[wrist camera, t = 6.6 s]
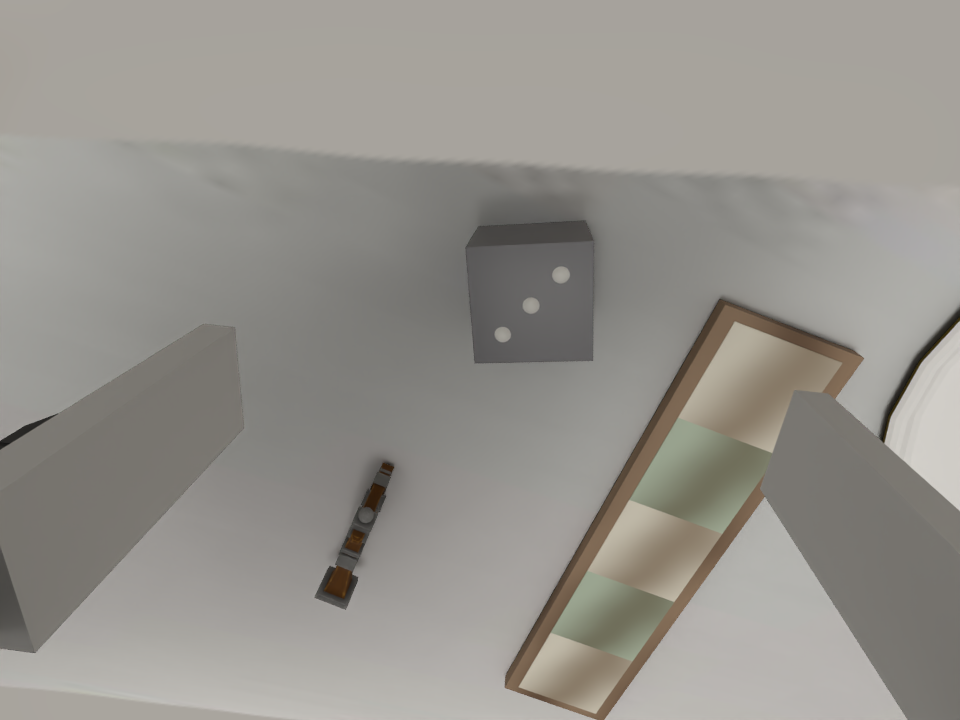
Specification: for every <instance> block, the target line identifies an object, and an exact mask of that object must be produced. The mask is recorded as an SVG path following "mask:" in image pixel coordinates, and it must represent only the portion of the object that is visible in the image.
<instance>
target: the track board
mask: <svg viewBox="0 0 960 720" xmlns="http://www.w3.org/2000/svg"><path fill="white" fill-rule="evenodd" d="M863 359H864V358H863V357H862V356H860V355H859V354H858V353H856V352H855V351H853V350H850V349H848V348H845V347H843V346H840V345H837V344H835V343H832V342H830V341H827V340H824V339H822V338H819V337H817V336H814V335H811V334H809V333H806V332H804V331H801V330H798V329H796V328H793V327H791V326H788V325H786V324H783V323H780V322H778V321H775V320H773V319H770V318H767V317H765V316H762V315H760V314H757V313H754V312H752V311H749V310H747V309H744V308H741V307H739V306H736V305H734V304H731V303H729V302H726V301H723V300H721V299H720V300H719V302H718V303H717V305H716V307H715V309H714V310H713V312H712V314H711V316H710V317H709V319H708V321H707V323H706V324H705V326H704V328H703V330H702V331H701V333H700V335H699V337H698V339H697V340H696V342H695V344H694V346H693V347H692V349H691V351H690V353H689V354H688V356H687V358H686V360H685V361H684V363H683V365H682V367H681V368H680V370H679V372H678V374H677V375H676V377H675V379H674V381H673V382H672V384H671V386H670V388H669V389H668V391H667V393H666V395H665V397H664V398H663V400H662V402H661V404H660V405H659V407H658V409H657V411H656V412H655V414H654V416H653V418H652V419H651V421H650V423H649V425H648V426H647V428H646V430H645V432H644V433H643V435H642V437H641V439H640V440H639V442H638V444H637V446H636V447H635V449H634V451H633V453H632V454H631V456H630V458H629V460H628V462H627V463H626V465H625V467H624V469H623V470H622V472H621V474H620V476H619V477H618V479H617V481H616V483H615V484H614V486H613V488H612V490H611V491H610V493H609V495H608V497H607V498H606V500H605V502H604V504H603V505H602V507H601V509H600V511H599V512H598V514H597V516H596V518H595V520H594V521H593V523H592V525H591V527H590V528H589V530H588V532H587V534H586V535H585V537H584V539H583V541H582V542H581V544H580V546H579V548H578V549H577V551H576V553H575V555H574V556H573V558H572V560H571V562H570V563H569V565H568V567H567V569H566V570H565V572H564V574H563V576H562V578H561V579H560V581H559V583H558V585H557V586H556V588H555V590H554V592H553V593H552V595H551V597H550V599H549V600H548V602H547V604H546V606H545V607H544V609H543V611H542V613H541V614H540V616H539V618H538V620H537V621H536V623H535V625H534V627H533V628H532V630H531V632H530V634H529V635H528V637H527V639H526V641H525V643H524V644H523V646H522V648H521V650H520V651H519V653H518V655H517V657H516V658H515V660H514V662H513V664H512V665H511V667H510V669H509V671H508V672H507V674H506V677H505V688H507V689H510V690H513V691H515V692H518V693H521V694H524V695H527V696H530V697H533V698H536V699H539V700H541V701H544V702H547V703H550V704H553V705H556V706H559V707H562V708H565V709H568V710H570V711H573V712H576V713H579V714H582V715H585V716H588V717H591V718H594V719H596V720H604V719H605V718H606V716H607V715H608V714H609V712H610V711H611V709H612V708H613V707H614V705H615V704H616V703H617V701H618V700H619V698H620V697H621V696H622V694H623V693H624V691H625V690H626V689H627V687H628V686H629V684H630V683H631V682H632V680H633V679H634V677H635V676H636V675H637V673H638V672H639V671H640V669H641V668H642V666H643V665H644V664H645V662H646V661H647V659H648V658H649V657H650V655H651V654H652V652H653V651H654V650H655V648H656V647H657V646H658V644H659V643H660V641H661V640H662V639H663V637H664V636H665V634H666V633H667V632H668V630H669V629H670V627H671V626H672V625H673V623H674V622H675V621H676V619H677V618H678V616H679V615H680V614H681V612H682V611H683V609H684V608H685V607H686V605H687V604H688V602H689V601H690V600H691V598H692V597H693V595H694V594H695V593H696V591H697V590H698V589H699V587H700V586H701V584H702V583H703V582H704V580H705V579H706V577H707V576H708V575H709V573H710V572H711V570H712V569H713V568H714V566H715V565H716V564H717V562H718V561H719V559H720V558H721V557H722V555H723V554H724V552H725V551H726V550H727V548H728V547H729V545H730V544H731V543H732V541H733V540H734V538H735V537H736V536H737V534H738V533H739V532H740V530H741V529H742V527H743V526H744V525H745V523H746V522H747V520H748V519H749V518H750V516H751V515H752V513H753V512H754V511H755V509H756V508H757V507H758V505H759V504H760V502H761V501H762V500H763V498H764V497H765V496H764V494H763V493H762V491H761V490H760V487H761V484H762V481H763V479H764V476H765V473H766V470H767V467H768V464H769V461H770V458H771V456H772V453H773V450H774V447H775V444H776V441H777V438H778V435H779V433H780V430H781V427H782V424H783V421H784V418H785V415H786V413H787V410H788V407H789V404H790V401H791V398H792V395H793V392H794V390H801V391H810V392H819V393H828V394H829V395H831V396H832V397H833V398H834V399H835V398H836V397H837V395H838V394H839V393H840V391H841V390H842V388H843V387H844V386H845V384H846V383H847V381H848V380H849V379H850V377H851V376H852V374H853V373H854V372H855V370H856V369H857V368H858V366H859V365H860V363H861V362H862V361H863Z"/></svg>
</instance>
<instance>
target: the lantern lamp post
mask: <svg viewBox="0 0 960 720" xmlns="http://www.w3.org/2000/svg"><path fill="white" fill-rule="evenodd" d="M393 469H394V467H393V466H390V465H388V464H385V463H383V464H382V466H381V468H380V470H379V472H377V475H376V477H375V479H374V481H373V484H372V486H371V489H368V490H367V492H366V494H365V497H364V499H363V501H362V503H361V505H362V507H360V506H359V508H358V511H357V513H356V515H355V517H354V520H353V522H352V525H351V527H350V530H349V532H348V534H347V537H346V539H345V541H344V543H343V545H342V548H341V550H340V553H339V557H338V559H337V561H336V564H335V565H337V566H336V568H334V567H331V566H329V568H328V570H327V572H326V574H325V576H324V578H323V580H322V582H321V584H320V587H319V589H318V591H317V593H316V595H315V597H314V598H317V599H319V600H322V601H324V602H327V603H330V604H332V605H335V606H337V607H340V608H342V609H345V610H346V608H347V606H348V603H349V601H350V598H351V596H352V594H353V591H354V589H355V586H356V584H357V581H358V577H357V576H354V575H352V572H353V569H354V567H355V565H356V562H357V561H358V559H359V557H360V554H361V552H362V550H363V547H364V545H365V543H366V541H367V538H368V536H369V533H370V532H371V530H372V528H373V525H374V523H375V520H376V518H377V515H378V512H380V510H381V507H382V505H383V503H384V500H385V498H386V496H385V495H384V492H385V490H386V488H387V485H388V483H389V480H390V478H391V477H390V476H391V474H392V471H393Z"/></svg>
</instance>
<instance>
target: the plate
mask: <svg viewBox="0 0 960 720" xmlns="http://www.w3.org/2000/svg"><path fill="white" fill-rule="evenodd" d="M883 443H884V444H885V445H886V446H888V447H889V448H890V449H891V450H892V451H893V452H894V453H895V454H897V455H898V456H899V457H900V458H901V459H902V460H903V461H904V462H906V463H907V464H908V465H909V466H910V467H911V468H912V469H913V470H914V471H916V472H917V473H918V474H919V475H920V476H921V477H922V478H923V479H925V480H926V481H927V482H928V483H929V484H930V485H931V486H932V487H933V488H935V489H936V490H937V491H938V492H939V493H940V494H941V495H942V496H944V497H945V498H946V499H947V500H948V501H949V502H950V503H951V504H953V505H954V506H955V507H956V508H957V509H958V510H959V511H960V317H959V318H958V319H957V320H956V322H955V323H954V324H953V325H952V326H951V327H950V328H949V329H948V330H947V331H946V332H945V334H944V335H943V336H942V337H941V338H940V339H939V340H938V341H937V342H936V343H935V344H934V346H933V347H932V348H931V349H930V350H929V351H928V352H927V353H926V354H925V355H924V356H923V358H922V359H921V360H920V361H919V362H918V364H917V366H916V368H915V370H914V371H913V373H912V375H911V377H910V379H909V380H908V382H907V384H906V386H905V387H904V389H903V391H902V393H901V395H900V396H899V398H898V400H897V402H896V403H895V405H894V407H893V409H892V411H891V412H890V414H889V416H888V421H887V425H886V429H885V433H884V438H883Z"/></svg>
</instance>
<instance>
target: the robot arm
mask: <svg viewBox="0 0 960 720" xmlns="http://www.w3.org/2000/svg"><path fill="white" fill-rule="evenodd" d="M243 429H244V421H243V411H242V400H241V389H240V378H239V367H238V356H237V345H236V334H235V327H226V326H217V325H208V324H203V325H201V326H199V327H198V328H196V329H194V330H193V331H191V332H190V333H188V334H186V335H185V336H183V337H182V338H180V339H178V340H177V341H175V342H173V343H172V344H170V345H169V346H167V347H165V348H164V349H162V350H161V351H159V352H157V353H156V354H154V355H153V356H151V357H149V358H148V359H146V360H144V361H143V362H141V363H140V364H138V365H136V366H135V367H133V368H132V369H130V370H128V371H127V372H125V373H123V374H122V375H120V376H119V377H117V378H115V379H114V380H112V381H111V382H109V383H107V384H106V385H104V386H102V387H101V388H99V389H98V390H96V391H94V392H93V393H91V394H90V395H88V396H86V397H85V398H83V399H81V400H80V401H78V402H77V403H75V404H73V405H72V406H70V407H69V408H67V409H65V410H64V411H62V412H60V413H59V414H56V415H53V416H50V417H48V418H45V419H42V420H40V421H37V422H34V423H31V424H29V425H26V426H24V427H22V428H21V429H19V430H17V431H16V432H14V433H12V434H11V435H9V436H7V437H6V438H4V439H2V440H1V441H0V649H8V650H15V651H23V652H30V653H36V651H37V650H38V649H39V648H40V647H41V646H42V645H43V644H44V643H45V642H46V641H47V640H48V639H49V637H50V636H51V635H52V634H53V633H54V632H55V631H56V630H57V629H58V628H59V627H60V626H61V625H62V623H63V622H64V621H65V620H66V619H67V618H68V617H69V616H70V615H71V614H72V613H73V612H74V611H75V609H76V608H77V607H78V606H79V605H80V604H81V603H82V602H83V601H84V600H85V599H86V598H87V597H88V595H89V594H90V593H91V592H92V591H93V590H94V589H95V588H96V587H97V586H98V585H99V584H100V583H101V581H102V580H103V579H104V578H105V577H106V576H107V575H108V574H109V573H110V572H111V571H112V570H113V569H114V567H115V566H116V565H117V564H118V563H119V562H120V561H121V560H122V559H123V558H124V557H125V556H126V555H127V553H128V552H129V551H130V550H131V549H132V548H133V547H134V546H135V545H136V544H137V543H138V542H139V541H140V539H141V538H142V537H143V536H144V535H145V534H146V533H147V532H148V531H149V530H150V529H151V528H152V527H153V525H154V524H155V523H156V522H157V521H158V520H159V519H160V518H161V517H162V516H163V515H164V514H165V513H166V511H167V510H168V509H169V508H170V507H171V506H172V505H173V504H174V503H175V502H176V501H177V500H178V499H179V497H180V496H181V495H182V494H183V493H184V492H185V491H186V490H187V489H188V488H189V487H190V486H191V485H192V483H193V482H194V481H195V480H196V479H197V478H198V477H199V476H200V475H201V474H202V473H203V472H204V471H205V469H206V468H207V467H208V466H209V465H210V464H211V463H212V462H213V461H214V460H215V459H216V458H217V457H218V455H219V454H220V453H221V452H222V451H223V450H224V449H225V448H226V447H227V446H228V445H229V444H230V443H231V441H232V440H233V439H234V438H235V437H236V436H237V435H238V434H239V433H240V432H241V431H242V430H243ZM760 490H761V491H762V493H763V494H764V496H765V497H766V499H767V501H768V502H769V504H770V505H771V507H772V508H773V510H774V512H775V513H776V515H777V516H778V518H779V519H780V521H781V522H782V524H783V526H784V527H785V529H786V530H787V532H788V533H789V535H790V537H791V538H792V540H793V541H794V543H795V544H796V546H797V547H798V549H799V551H800V552H801V554H802V555H803V557H804V558H805V560H806V562H807V563H808V565H809V566H810V568H811V569H812V571H813V572H814V574H815V576H816V577H817V579H818V580H819V582H820V583H821V585H822V587H823V588H824V590H825V591H826V593H827V594H828V596H829V598H830V599H831V601H832V602H833V604H834V605H835V607H836V608H837V610H838V612H839V613H840V615H841V616H842V618H843V619H844V621H845V623H846V624H847V626H848V627H849V629H850V630H851V632H852V633H853V635H854V637H855V638H856V640H857V641H858V643H859V644H860V646H861V648H862V649H863V651H864V652H865V654H866V655H867V657H868V658H869V660H870V662H871V663H872V665H873V666H874V668H875V669H876V671H877V673H878V674H879V676H880V677H881V679H882V680H883V682H884V683H885V685H886V687H887V688H888V690H889V691H890V693H891V694H892V696H893V698H894V699H895V701H896V702H897V704H898V705H899V707H900V709H901V710H902V712H903V713H904V715H905V716H906V718H907V719H908V720H960V511H959V510H958V509H957V508H956V507H955V506H954V505H953V504H951V503H950V502H949V501H948V500H947V499H946V498H945V497H944V496H942V495H941V494H940V493H939V492H938V491H937V490H936V489H935V488H933V487H932V486H931V485H930V484H929V483H928V482H927V481H926V480H925V479H923V478H922V477H921V476H920V475H919V474H918V473H917V472H916V471H914V470H913V469H912V468H911V467H910V466H909V465H908V464H907V463H906V462H904V461H903V460H902V459H901V458H900V457H899V456H898V455H897V454H895V453H894V452H893V451H892V450H891V449H890V448H889V447H888V446H886V445H885V444H884V443H883V442H882V441H881V440H880V439H879V438H878V437H876V436H875V435H874V434H873V433H872V432H871V431H870V430H869V429H867V428H866V427H865V426H864V425H863V424H862V423H861V422H860V421H859V420H857V419H856V418H855V417H854V416H853V415H852V414H851V413H850V412H848V411H847V410H846V409H845V408H844V407H843V406H842V405H841V404H839V403H838V402H837V401H836V400H835V399H834V398H833V397H832V396H831V395H829V394H828V393H819V392H810V391H801V390H794V392H793V395H792V398H791V401H790V404H789V407H788V410H787V413H786V415H785V418H784V421H783V424H782V427H781V430H780V433H779V435H778V438H777V441H776V444H775V447H774V450H773V453H772V456H771V458H770V461H769V464H768V467H767V470H766V473H765V476H764V479H763V481H762V484H761V487H760Z"/></svg>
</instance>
